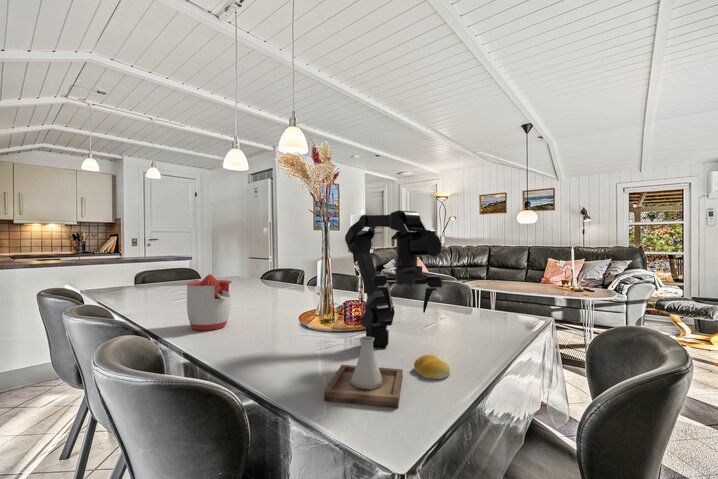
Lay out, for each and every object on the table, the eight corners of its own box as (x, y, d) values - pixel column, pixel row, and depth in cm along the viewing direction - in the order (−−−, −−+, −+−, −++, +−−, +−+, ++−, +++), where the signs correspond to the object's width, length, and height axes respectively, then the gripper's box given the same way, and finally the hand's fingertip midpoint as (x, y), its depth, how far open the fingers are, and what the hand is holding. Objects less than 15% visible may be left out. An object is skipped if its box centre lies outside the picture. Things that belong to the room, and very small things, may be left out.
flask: (373, 393, 69) (373, 345, 69) (344, 385, 73) (344, 339, 73) (388, 381, 75) (389, 336, 75) (361, 374, 79) (361, 332, 79)
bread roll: (428, 383, 78) (428, 365, 78) (409, 369, 86) (409, 353, 86) (458, 378, 80) (458, 361, 81) (437, 365, 89) (437, 350, 89)
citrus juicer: (206, 336, 114) (206, 277, 115) (176, 329, 123) (177, 274, 123) (243, 326, 128) (243, 273, 128) (214, 320, 137) (214, 271, 137)
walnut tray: (324, 400, 68) (324, 390, 68) (341, 372, 83) (341, 364, 83) (398, 408, 65) (398, 397, 65) (402, 377, 80) (402, 369, 80)
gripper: (369, 256, 87) (369, 316, 87) (442, 256, 84) (443, 319, 83) (375, 255, 98) (375, 308, 98) (440, 255, 95) (441, 310, 94)
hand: (407, 311), depth 93 cm, fingers open, 9 cm apart
